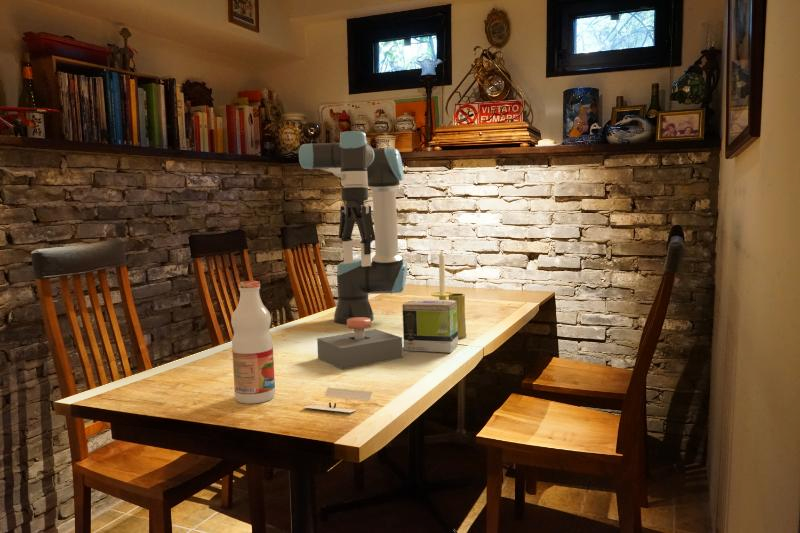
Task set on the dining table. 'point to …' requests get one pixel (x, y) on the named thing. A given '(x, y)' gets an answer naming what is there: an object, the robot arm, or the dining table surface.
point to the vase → (460, 313)
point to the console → (359, 349)
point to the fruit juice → (252, 347)
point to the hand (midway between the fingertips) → (357, 264)
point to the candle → (442, 279)
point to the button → (359, 326)
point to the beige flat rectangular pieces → (343, 394)
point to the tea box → (430, 325)
